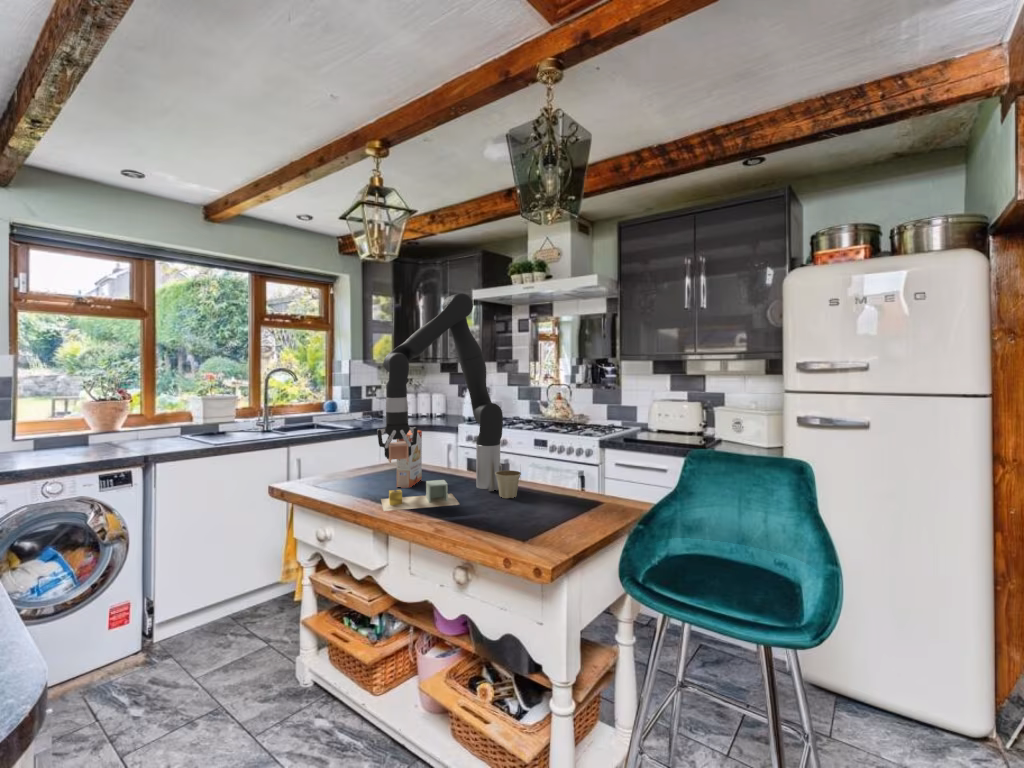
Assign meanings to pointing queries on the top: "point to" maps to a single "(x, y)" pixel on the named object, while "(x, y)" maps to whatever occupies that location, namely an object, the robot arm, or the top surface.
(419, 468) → the cracker box
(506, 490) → the flower pot
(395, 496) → the letter cube
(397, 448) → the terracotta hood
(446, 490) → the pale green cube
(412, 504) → the board
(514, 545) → the top surface
